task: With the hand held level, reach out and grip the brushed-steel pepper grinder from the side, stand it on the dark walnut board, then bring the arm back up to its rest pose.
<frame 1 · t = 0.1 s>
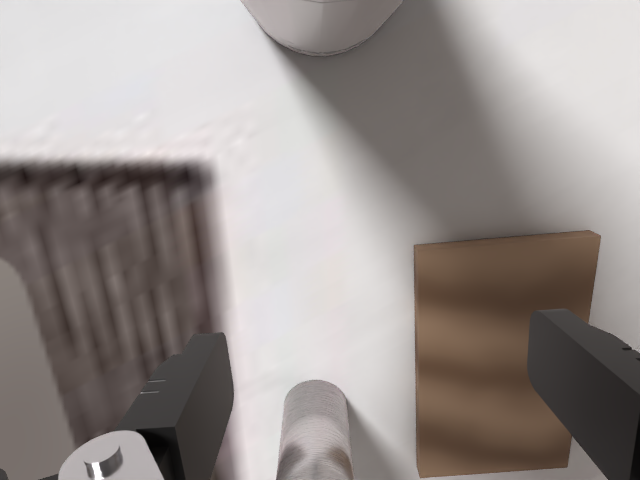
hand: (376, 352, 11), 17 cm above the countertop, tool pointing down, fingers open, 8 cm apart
walnut board: (493, 360, 31), on the countertop
pepper grinder: (315, 406, 33), on the countertop
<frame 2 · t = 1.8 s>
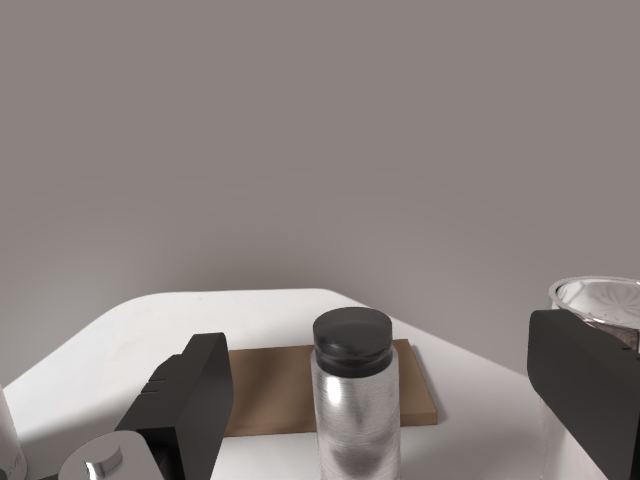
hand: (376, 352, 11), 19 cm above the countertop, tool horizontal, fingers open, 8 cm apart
walnut board: (318, 387, 40), on the countertop
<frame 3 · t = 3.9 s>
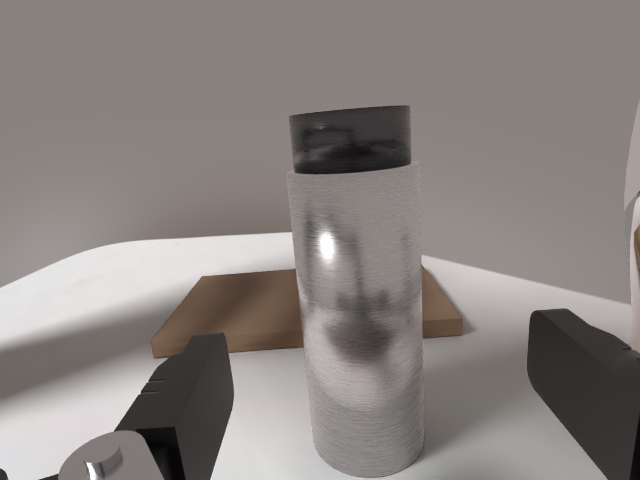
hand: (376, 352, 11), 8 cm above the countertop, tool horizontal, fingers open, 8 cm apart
walnut board: (309, 307, 32), on the countertop
pepper grinder: (367, 432, 19), on the countertop
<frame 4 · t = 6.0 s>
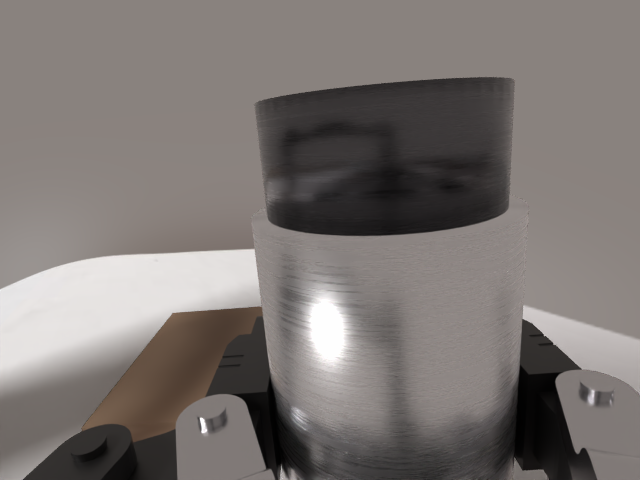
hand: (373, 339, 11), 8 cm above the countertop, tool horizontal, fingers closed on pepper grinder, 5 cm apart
walnut board: (306, 362, 25), on the countertop
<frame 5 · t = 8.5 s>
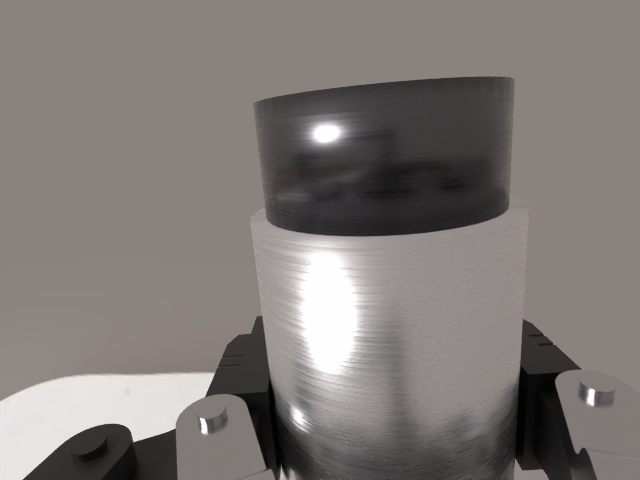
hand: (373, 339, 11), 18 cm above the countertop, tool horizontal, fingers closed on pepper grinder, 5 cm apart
when the fingers open (10 cm above the countertop, at t = 11.1 s): pepper grinder drops 1 cm, resting on walnut board.
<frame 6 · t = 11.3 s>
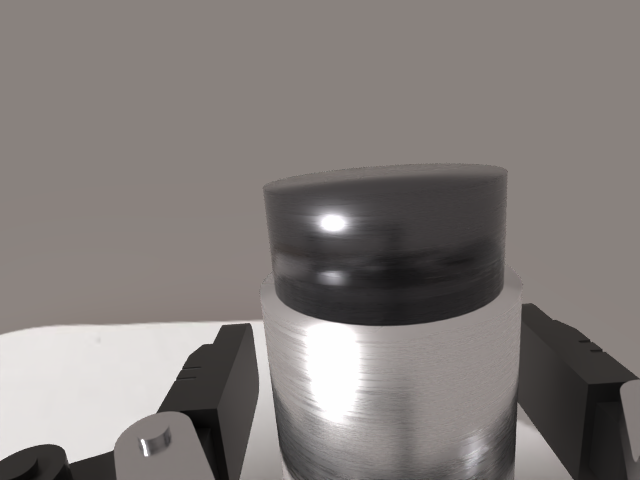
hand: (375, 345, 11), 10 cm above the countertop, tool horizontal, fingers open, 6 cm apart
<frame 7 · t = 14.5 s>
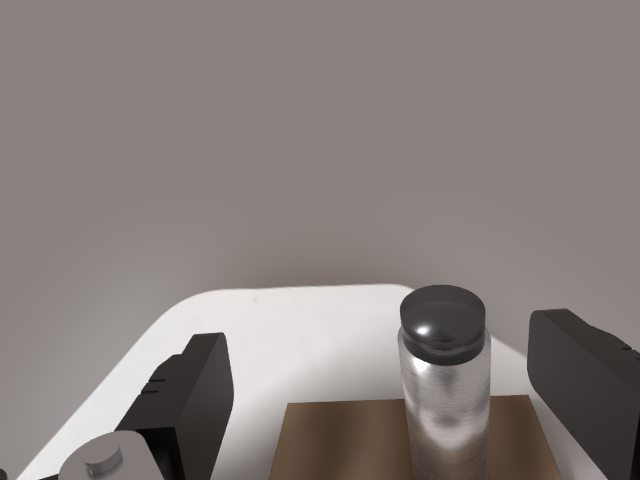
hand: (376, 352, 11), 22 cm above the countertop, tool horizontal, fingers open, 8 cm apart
walnut board: (406, 477, 30), on the countertop
pepper grinder: (449, 467, 28), point 1 cm above the countertop, touching walnut board
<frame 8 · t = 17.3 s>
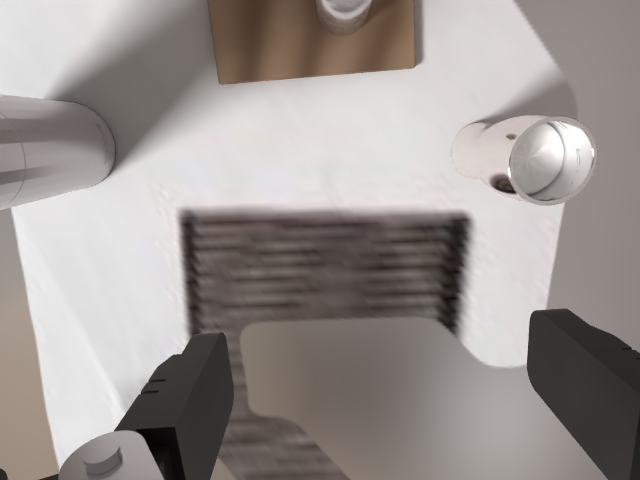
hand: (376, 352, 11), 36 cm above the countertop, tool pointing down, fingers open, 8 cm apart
walnut board: (311, 12, 41), on the countertop
pepper grinder: (342, 7, 40), point 1 cm above the countertop, touching walnut board
beer glass: (477, 150, 45), on the countertop
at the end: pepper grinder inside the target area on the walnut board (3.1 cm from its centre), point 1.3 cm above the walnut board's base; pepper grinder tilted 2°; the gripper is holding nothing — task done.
